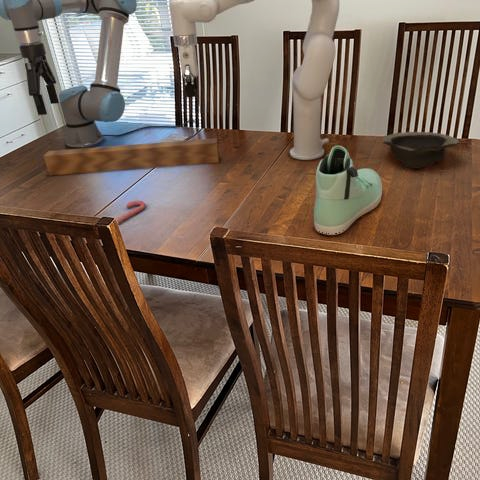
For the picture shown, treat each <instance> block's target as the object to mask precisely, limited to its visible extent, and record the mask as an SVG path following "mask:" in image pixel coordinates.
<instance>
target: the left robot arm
mask: <svg viewBox="0 0 480 480" xmlns="http://www.w3.org/2000/svg"><path fill="white" fill-rule="evenodd" d="M137 2H138V1H137V0H0V18H2V19H4V20H5V21H11V24H12V27H13V31H14V34H15V35H14V36H15V38H16V42H17V44H18V45H19V46H18V48H19V51H20V55H21V57H22V59H23V58H24V59H27V61H28V62H25V63H24V68H25V71H26V72H25V73H26V78H27V79H26V80H27V81H26V82H27V91H28V95H29V97H32V98H33V101H34V106H35V108H36V112H37V115H38V116H45V115H48V112H47V108H46V104H45V101H44V97H43V95H42V93H41V78H42V79H43V81H44V83H45V88H46V92H47V95H48V98H49V102H50V104H51V105H54V104H59V105H60V108H61V113H62V116H63V119H64V123H65V126H66V133H65V144H66V148H68V149H69V150H70V149H83V148H95V147H98V146H99V145H102V143H104V138H105V137H113V138H114V137H115V138H117V137H123V136H126V135H128V134H132V133H135V132H138V131H140V130H145V129H154V128H156V129H157V128H159V129H160V128H161V129H162V128H166V129H167V128H168V129H173V128H174V129H175V128H182V127H184V126H186V125H188V124H189V123H190V122H193V123H197V121H196V120H195V119H187V121H185V122H184V123H183V124H179V125H147V126H142V127H138V128H135V129H133V130H130V131H127V132H123V133H120V134H102V132H101V130H100V129H99V127H98V125H97V124H96V122H104V123H112V122H117V121H118V120H119V119H121V118H122V116H123V115H124V112H125V109H126V102H125V97H124V95H123V94H122V93H121V89H120V87H119V86H118V81H119V71H120V64H121V63H120V62H121V53H122V45H123V39H124V38H123V37H124V28H125V25H127V23H129V20H130V15H133V14H134V13H135V12H136V10H137V7H138V3H137ZM68 13H74V14H77V15H80V14H81V15H82V14H85V15H86V14H88V15H98V16H99V18H100V19H101V22H100V32H99V39H98V40H99V41H98V48H97V49H98V50H97V58H96V59H97V60H96V67H95V76H94V80H93V81H92V82H91V83H90V84H89V89H88V87H87V86H86V85H77V86H73V87H69V88H66V89H63V90H61V91H60V92H59V93H58V94H57V89H56V87H55V86H56V85H55V84H57V80H56V77H55V75H54V73H53V71H52V69H51V66H50V64H49V62H48V59H47V56H46V55H47V52H46V49H45V44H44V43H43V42H42V41H43V37H42V35H43V32H42V31H41V30H40V26H39V22H40V21H44V20H49V19H55V18H58V17H60V16H61V15H63V14H68Z"/></svg>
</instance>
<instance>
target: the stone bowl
mask: <svg viewBox="0 0 480 480" xmlns="http://www.w3.org/2000/svg"><path fill="white" fill-rule="evenodd" d="M381 142H382V144H384V145H386V146H390V151H391V154H392V155H393V156H394V157H395V159H397V160H399V161H401V163H402V164H401V165H402V167H404V168H411V169H420V168H429V167H432V166H433V165H434V163H435V162H436V163H439V162H443V161H444V159H445V157H446V149H448V148H452V147H455V146H456V145H458V144H460V143H461V141H460V140H459V139H457V138H455V137H453V136H451V135H447V134H444V133H440V132H430V131H405V132H395V133H390V134H387V135H384V136H382V138H381Z"/></svg>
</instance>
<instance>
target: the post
mask: <svg viewBox="0 0 480 480" xmlns="http://www.w3.org/2000/svg"><path fill="white" fill-rule="evenodd" d="M159 142H160V141H159ZM218 147H219V145H218V138H217V137H214V138H213V137H212V138H200V139H189V140H187V139H185V140H183V141H173V142H160V143H158V142H149V143H137V144H135V143H134V144H122V145H110V146H108V145H107V146H95V147H91V148H83V149H70V148H69V149H59V150H57V149H56V150H47V152H46V153H45V154H44V155H43V159H44V162H45V166H46V169H47V172H48V175H49V176H61V175H74V174H86V173H98V172H99V173H100V172H112V171H126V170H139V169H151V168H166V167H177V166H190V165H204V164H216V163H219V161H220V159H219V157H220V156H219V148H218Z"/></svg>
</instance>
